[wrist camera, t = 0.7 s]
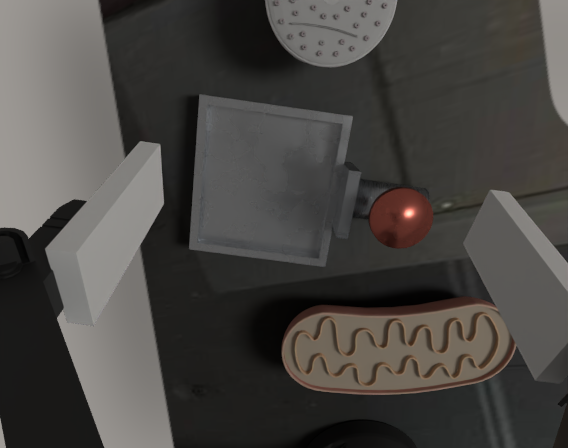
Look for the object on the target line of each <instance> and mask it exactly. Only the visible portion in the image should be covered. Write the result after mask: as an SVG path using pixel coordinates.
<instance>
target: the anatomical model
mask: <svg viewBox="0 0 568 448" xmlns="http://www.w3.org/2000/svg"><path fill="white" fill-rule="evenodd" d="M515 348H516V343H515V341H514V339H513V338H512V336H511V334H510V332H509V330H508V328H507V326H506V324H505V322H504V320H503V319H502V317H501V315H500V313H499V311H498V309H497V307H496V306H494V305H493V304H491V303H489V302H487V301H484V300H482V299H478V298H473V297H457V298H452V299H446V300H441V301H435V302H430V303H424V304H419V305H410V306H398V307H376V308H364V307H349V306H334V305H318V306H314V307H311V308H308V309H306V310H304V311H303V312H301V313H300V314H298V315H297V316H296V317H295V318H294V319H293V320H292V322H291V323H290V324H289V326H288V328H287V330H286V332H285V334H284V338H283V341H282V360H283V364H284V367H285V368H286V370H287V372H288V373H289V374H290V376H291V377H292V378H293V379H294V380H295V381H297V382H298V383H299V384H301V385H303V386H305V387H307V388H310V389H313V390H317V391H324V392H335V393H349V394H374V395H387V394H407V393H418V392H426V391H434V390H440V389H446V388H452V387H457V386H463V385H468V384H474V383H477V382H481V381H484V380H486V379H489V378H491V377H492V376H494V375H495V374H497V373H498V372H500V371H501V370H502V369H503V368H504V367H505V366H506V365H507V363H508V362H509V361H510V359H511V358H512V356H513V354H514V351H515Z"/></svg>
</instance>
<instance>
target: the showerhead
mask: <svg viewBox="0 0 568 448" xmlns="http://www.w3.org/2000/svg"><path fill="white" fill-rule="evenodd" d="M396 4H397V0H265V5H266V11H267V15H268V19H269V22H270V25H271V27H272V29H273V32H274V34H275V36H276V37H277V39H278V41H279V42H280V43H281V45H282V46H283V47H284V48H285V50H287V51H288V52H289V53H290V54H291V55H292V56H294V57H295V58H296V59H298V60H300V61H302V62H304V63H306V64H309V65H311V66H315V67H322V68H334V67H339V66H343V65H347V64H349V63H352V62H354V61H356V60H358V59H360V58H362V57H363V56H365V55H366V54H367V53H369V52H370V51H371V50H372V49H373V48H374V47H375V46H376V45H377V44H378V43H379V42H380V40H381V39H382V38H383V36H384V35H385V33H386V31H387V30H388V28H389V26H390V24H391V21H392V19H393V16H394V13H395V9H396Z"/></svg>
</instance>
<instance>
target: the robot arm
mask: <svg viewBox="0 0 568 448" xmlns="http://www.w3.org/2000/svg"><path fill="white" fill-rule="evenodd" d="M163 204H164V197H163V181H162V166H161V150H160V144H156V143H149V142H142V141H140V142H139V143H138V144H137V146H136V147H135V148H134V149H133V150H132V151H131V152H130V154H129V155H128V156H127V157H126V158H125V159H124V160H123V161H122V163H121V164H120V165H119V166H118V167H117V168H116V169H115V171H114V172H113V173H112V174H111V175H110V176H109V177H108V179H107V180H106V181H105V182H104V183H103V184H102V185H101V186H100V187H99V189H98V190H97V191H96V192H95V193H94V194H93V195H92V196H91V198H90V199H89V200H88V201H82V200H72V201H70V202H69V203H66V204H65V205H63V206H61V207H59V208H58V209H57V210H56V212H54V213H53V214H52V215H51V216H50V219H47V221H46V222H45V223H44V224H43V225H42V227H40V228H39V229H38V230H37V231H36V232H35V233H34V234H33V235H32V236H31V237H30V238H29V239H28V236H27V235H26V234H25V233H24V232H23V231H21V230H18V229H15V228H0V418H1V423H2V429H3V434H4V439H5V445H6V448H104V446H103V443H102V441H101V438H100V435H99V433H98V430H97V427H96V424H95V422H94V419H93V416H92V413H91V411H90V408H89V405H88V402H87V400H86V397H85V394H84V392H83V389H82V386H81V383H80V381H79V378H78V375H77V372H76V370H75V367H74V364H73V362H72V359H71V356H70V354H69V351H68V348H67V345H66V342H65V340H64V337H63V334H62V332H61V329H60V326H59V323H58V321H57V317H58V316H59V314H60V312H61V311H62V310H63V311H64V314H65V317H66V321H67V322H68V323H75V324H83V325H91V326H94V324H95V323H96V321H97V319H98V318H99V316H100V314H101V312H102V311H103V309H104V307H105V305H106V304H107V302H108V300H109V298H110V297H111V295H112V293H113V291H114V290H115V288H116V286H117V284H118V283H119V281H120V279H121V278H122V276H123V274H124V272H125V271H126V269H127V267H128V265H129V264H130V262H131V260H132V258H133V257H134V255H135V253H136V251H137V250H138V248H139V246H140V244H141V243H142V241H143V239H144V237H145V236H146V234H147V232H148V230H149V229H150V227H151V225H152V224H153V222H154V220H155V218H156V217H157V215H158V213H159V211H160V210H161V208H162V206H163ZM463 245H464V247H465V248H466V250H467V252H468V254H469V256H470V258H471V260H472V262H473V264H474V265H475V267H476V269H477V271H478V273H479V275H480V277H481V279H482V281H483V283H484V284H485V286H486V288H487V290H488V292H489V294H490V296H491V298H492V300H493V302H494V303H495V305H496V307H497V309H498V311H499V313H500V315H501V317H502V319H503V320H504V322H505V324H506V326H507V328H508V330H509V332H510V334H511V336H512V338H513V339H514V341H515V343H516V345H517V347H518V349H519V351H520V353H521V355H522V357H523V358H524V360H525V362H526V364H527V366H528V368H529V370H530V372H531V374H532V376H533V377H534V379H535V381H543V382H552V383H561V382H562V381H563V380H564V379H565V378H566V377H567V376H568V263H567V262H566V261H565V259H564V258H563V257H562V256H561V255H560V253H559V252H558V251H557V250H556V249H555V247H554V246H553V245H552V244H551V242H550V241H549V240H548V239H547V238H546V236H545V235H544V234H543V233H542V232H541V230H540V229H539V228H538V227H537V226H536V224H535V223H534V222H533V221H532V220H531V218H530V217H529V216H528V215H527V214H526V212H525V211H524V210H523V209H522V208H521V206H520V205H519V204H518V203H517V202H516V200H515V199H514V198H513V197H512V195H511V194H510V193H509V192H503V191H496V190H490V191H489V193H488V195H487V197H486V199H485V201H484V203H483V205H482V207H481V209H480V211H479V213H478V215H477V217H476V219H475V221H474V223H473V225H472V227H471V229H470V231H469V233H468V235H467V237H466V239H465V241H464V243H463ZM565 403H567V406H566V409H565V412H564V415H563V418H562V421H561V424H560V427H559V430H558V433H557V436H556V440H555V443H554V446H553V448H568V394H567V395H566V396H565V397H564V398H563V399H562V400H561V401H560V402H559V403H558V405H560V406H561V407H562V406H563V405H564V404H565ZM307 448H417V447H416V445H415V444H414V442H413V441H412V440H411V439H410V438H409V437H408V436H407V435H406V434H405V433H403V432H402V431H400V430H399V429H397V428H395V427H393V426H390V425H388V424H385V423H381V422H376V421H351V422H346V423H342V424H339V425H336V426H333V427H331V428H329V429H327V430H325V431H324V432H322V433H321V434H319V435H318V436H317V437H316V438H314V439H313V440H312V441H311V443H310V444H309V445H308V446H307Z"/></svg>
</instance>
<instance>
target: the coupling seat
mask: <svg viewBox="0 0 568 448" xmlns="http://www.w3.org/2000/svg"><path fill="white" fill-rule="evenodd" d="M352 119H353V116H349V115H342V114H335V113H328V112H321V111H314V110H307V109H300V108H293V107H286V106H279V105H272V104H265V103H258V102H251V101H244V100H237V99H230V98H223V97H216V96H209V95H200V94H199V109H198V123H197V138H196V153H195V168H194V183H193V198H192V213H191V228H190V243H189V249H192V250H200V251H207V252H215V253H223V254H230V255H238V256H246V257H253V258H261V259H268V260H276V261H284V262H291V263H299V264H307V265H314V266H322V267H325V265H326V260H327V254H328V249H329V244H330V238H331V233H332V227H333V229H334V232H335V235H336V237H337V238H343V239H348V236H349V231H350V226H351V221H352V217H356V218H363V219H369V226H370V228H371V231H372V232H373V234H374V235H375V237H376V238H377V239H378V240H379V241H380V242H381V243H382V244H384V245H386V246H388V247H391V248H407V247H410V246H413V245H415V244H417V243H418V242H420V241H421V240H422V239H423V238H424V237H425V236H426V235H427V233H428V232H429V230H430V228H431V225H432V221H433V211H432V207H431V205H430V198H429V192H428V190H427V189H426V188H420V187H413V186H406V185H398V184H391V183H384V182H377V181H369V180H362V179H360V175H361V171H360V170H359V169H358V168H357V167H356V166H354V165H353V164H352V163H351V162H345V157H346V151H347V146H348V140H349V135H350V129H351V124H352Z"/></svg>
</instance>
